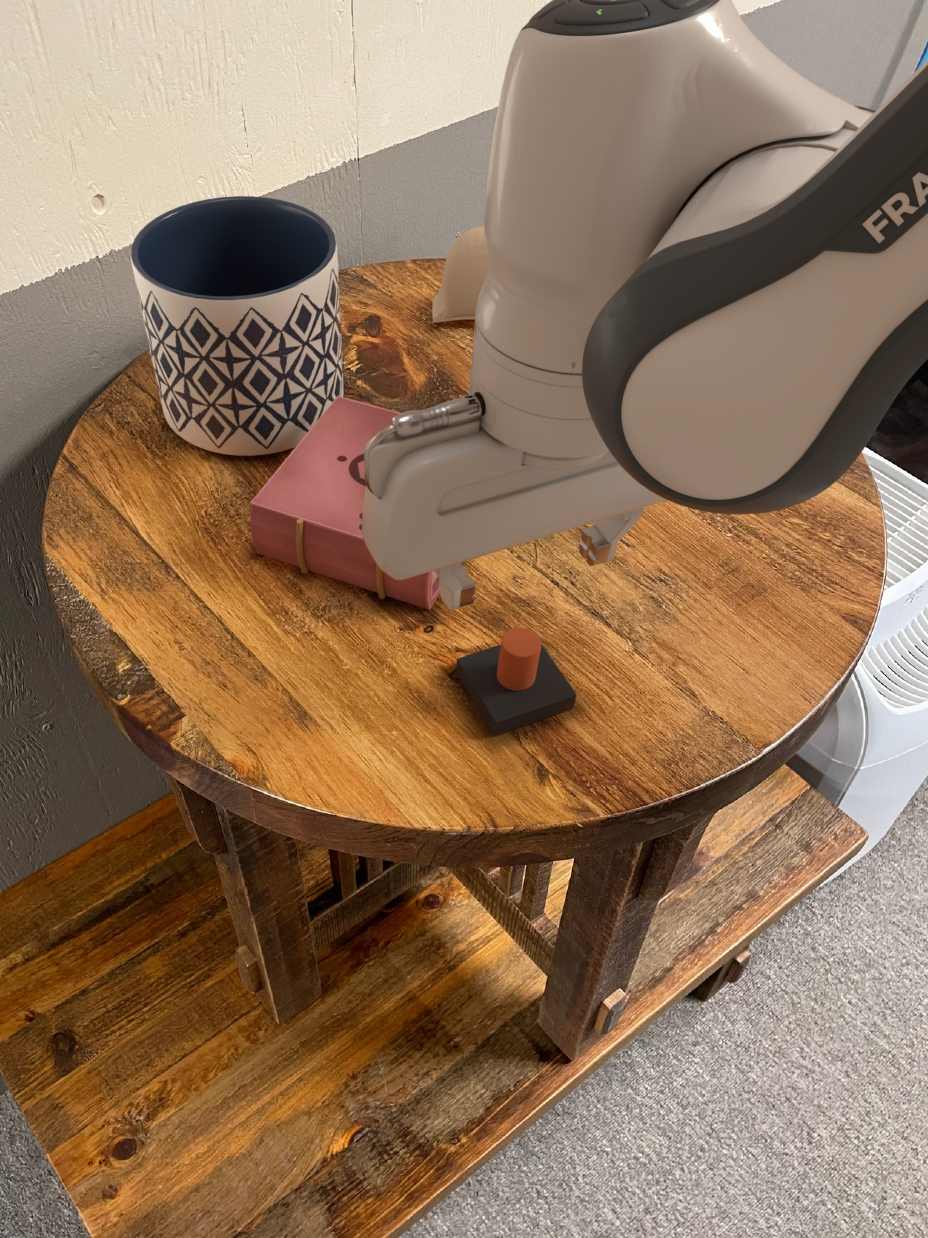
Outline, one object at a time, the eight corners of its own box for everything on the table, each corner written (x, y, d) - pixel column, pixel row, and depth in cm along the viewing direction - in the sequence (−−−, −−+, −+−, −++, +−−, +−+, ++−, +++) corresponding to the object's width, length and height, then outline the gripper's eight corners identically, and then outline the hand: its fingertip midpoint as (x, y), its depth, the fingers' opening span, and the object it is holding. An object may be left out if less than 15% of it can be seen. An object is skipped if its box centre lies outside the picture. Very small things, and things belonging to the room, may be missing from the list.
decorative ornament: (434, 289, 99) (439, 207, 93) (560, 298, 99) (574, 217, 92) (430, 323, 96) (435, 240, 89) (561, 332, 95) (575, 250, 89)
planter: (341, 349, 93) (334, 192, 82) (347, 457, 84) (340, 295, 72) (170, 355, 93) (139, 197, 81) (156, 464, 83) (118, 302, 72)
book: (251, 560, 76) (244, 509, 72) (340, 446, 84) (337, 395, 80) (424, 617, 72) (426, 567, 68) (499, 492, 81) (504, 441, 77)
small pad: (531, 647, 71) (540, 597, 67) (573, 708, 67) (585, 660, 63) (455, 672, 69) (459, 623, 65) (494, 736, 66) (501, 688, 62)
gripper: (391, 465, 44) (388, 666, 55) (768, 364, 50) (697, 566, 60) (339, 387, 48) (346, 591, 59) (696, 300, 53) (641, 502, 64)
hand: (526, 578), depth 60 cm, fingers open, 8 cm apart
